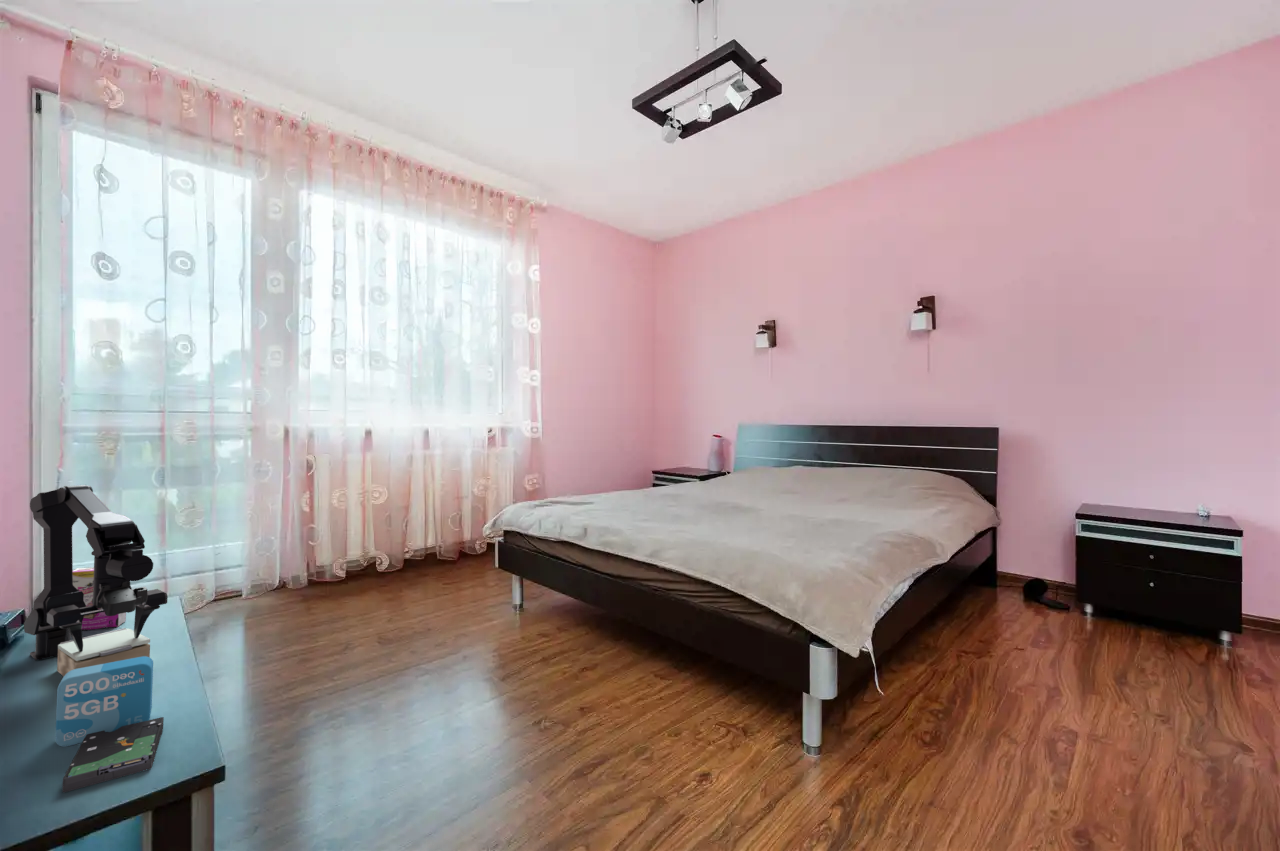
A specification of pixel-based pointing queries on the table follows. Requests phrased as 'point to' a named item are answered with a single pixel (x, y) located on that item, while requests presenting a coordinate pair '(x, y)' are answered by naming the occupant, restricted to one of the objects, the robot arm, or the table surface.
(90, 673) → the data package
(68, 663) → the box
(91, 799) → the table surface
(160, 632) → the table surface
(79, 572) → the candy bar box
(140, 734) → the disk drive
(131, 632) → the lid
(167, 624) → the table surface
